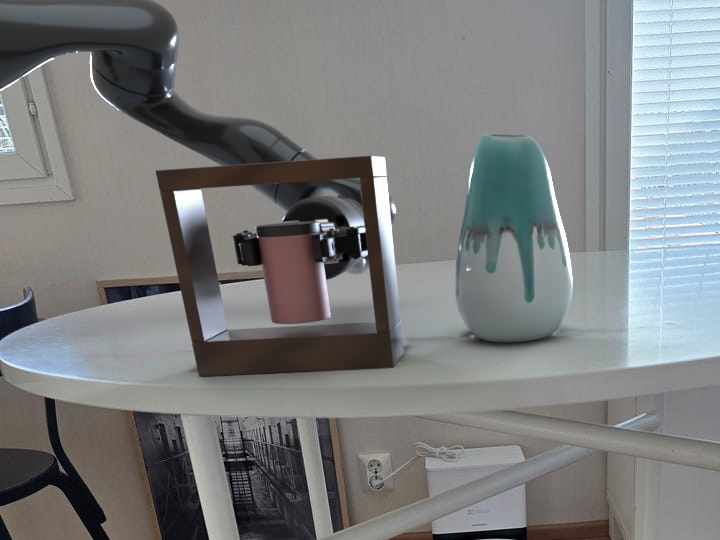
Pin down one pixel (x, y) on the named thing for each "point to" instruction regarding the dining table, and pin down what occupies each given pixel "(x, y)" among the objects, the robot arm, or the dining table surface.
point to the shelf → (281, 344)
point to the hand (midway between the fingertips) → (283, 250)
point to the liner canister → (293, 273)
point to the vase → (511, 244)
